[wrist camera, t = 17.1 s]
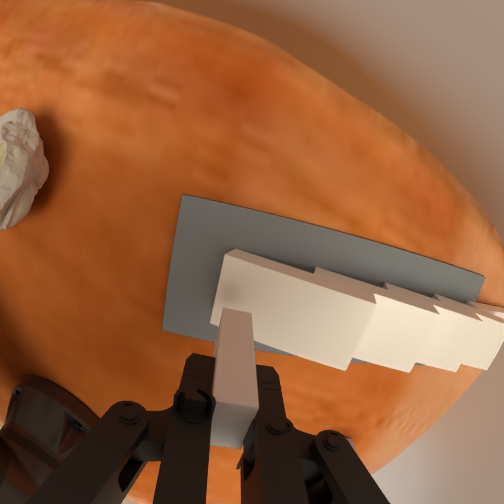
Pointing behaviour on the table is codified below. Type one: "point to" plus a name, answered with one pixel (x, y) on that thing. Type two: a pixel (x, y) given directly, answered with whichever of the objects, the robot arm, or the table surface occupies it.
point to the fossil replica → (19, 165)
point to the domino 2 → (391, 326)
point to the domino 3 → (445, 332)
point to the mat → (286, 261)
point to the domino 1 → (295, 308)
